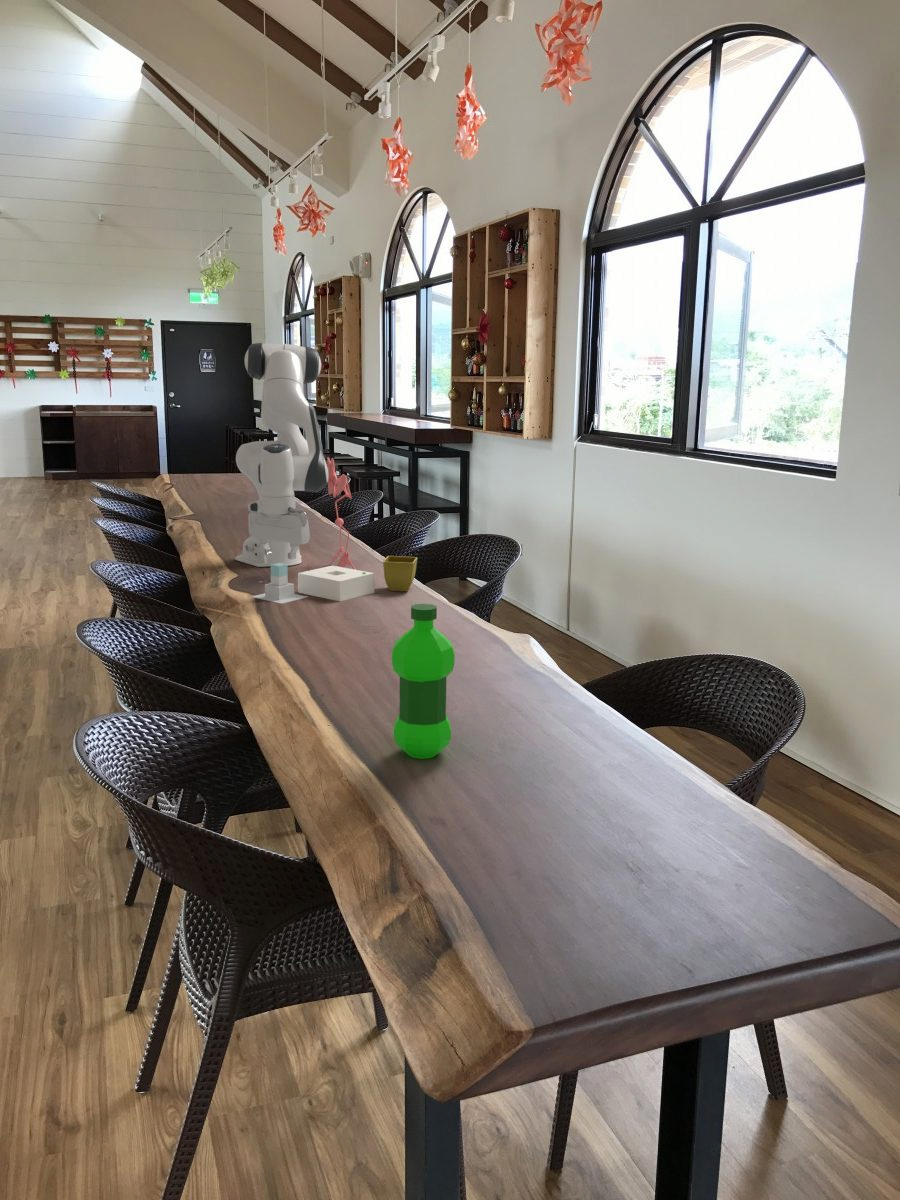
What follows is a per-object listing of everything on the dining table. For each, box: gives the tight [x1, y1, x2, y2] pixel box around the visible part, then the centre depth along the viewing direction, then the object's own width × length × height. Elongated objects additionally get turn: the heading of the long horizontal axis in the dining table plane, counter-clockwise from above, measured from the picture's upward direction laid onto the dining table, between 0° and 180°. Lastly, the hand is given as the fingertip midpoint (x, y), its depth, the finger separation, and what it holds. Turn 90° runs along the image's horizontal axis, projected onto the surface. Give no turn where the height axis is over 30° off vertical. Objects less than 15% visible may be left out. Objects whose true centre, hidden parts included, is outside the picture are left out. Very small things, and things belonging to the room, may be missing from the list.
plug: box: [269, 563, 289, 587], centre depth 260 cm, size 3×3×9 cm
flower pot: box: [382, 555, 418, 592], centre depth 274 cm, size 9×9×9 cm
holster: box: [250, 582, 308, 604], centre depth 261 cm, size 12×10×4 cm
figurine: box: [326, 457, 356, 570], centre depth 298 cm, size 15×26×35 cm, turn 16°
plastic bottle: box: [391, 603, 456, 760], centre depth 156 cm, size 10×10×25 cm
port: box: [297, 565, 375, 602], centre depth 267 cm, size 16×14×6 cm
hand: (279, 557), depth 259 cm, fingers open, 8 cm apart
